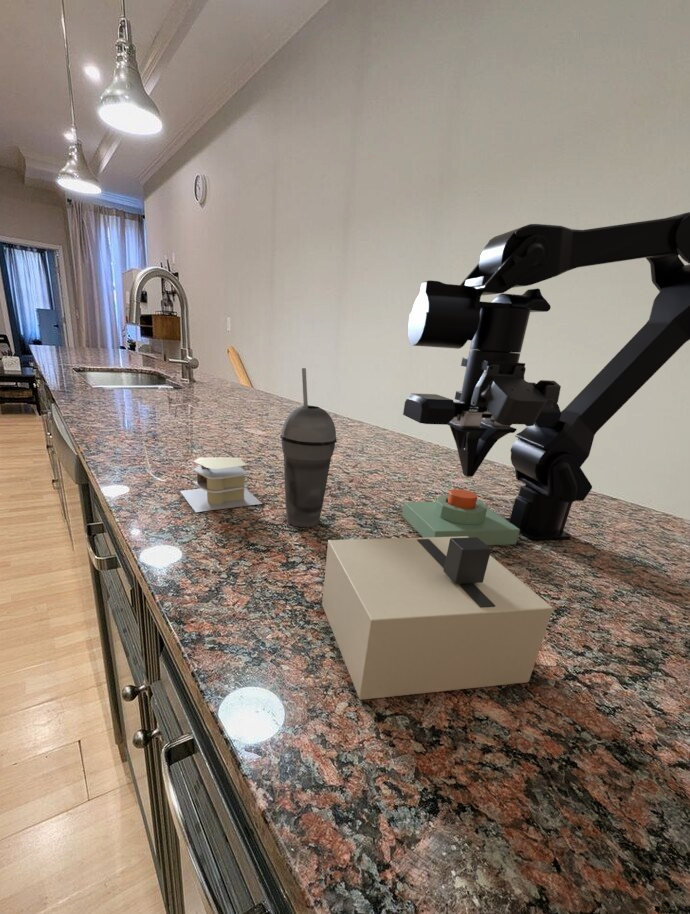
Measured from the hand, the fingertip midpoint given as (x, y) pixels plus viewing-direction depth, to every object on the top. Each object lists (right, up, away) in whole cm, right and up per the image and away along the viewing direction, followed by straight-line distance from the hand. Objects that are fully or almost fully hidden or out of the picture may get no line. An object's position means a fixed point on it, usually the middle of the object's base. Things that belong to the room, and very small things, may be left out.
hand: (467, 476), depth 59 cm
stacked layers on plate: (-34, -3, +8) cm, 36 cm away
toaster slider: (-9, -10, -24) cm, 28 cm away
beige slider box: (-12, -16, -20) cm, 28 cm away
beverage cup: (-22, -6, +2) cm, 23 cm away
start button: (0, -4, +2) cm, 4 cm away
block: (-1, -7, +3) cm, 8 cm away
